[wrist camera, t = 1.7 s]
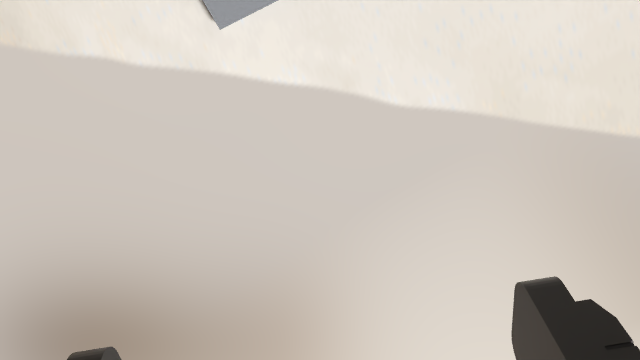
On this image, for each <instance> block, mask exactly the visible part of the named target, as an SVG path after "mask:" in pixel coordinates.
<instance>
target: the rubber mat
mask: <svg viewBox="0 0 640 360" xmlns="http://www.w3.org/2000/svg"><path fill="white" fill-rule="evenodd" d="M276 1H278V0H203V2H204V4H205V5H206V7H207V9H208V10H209V12H210V14H211V15H212V17H213V19H214V20H215V22H216V24H217V25H218V27H219V29H220V30H221V29H223V28H224V27H226V26H228V25H230V24H232V23H234V22H236V21H238V20H240V19H242V18H244V17H246V16H248V15H250V14H252V13H254V12H256V11H258V10H260V9H262V8H264V7H266V6H268V5H270V4H272V3H274V2H276Z"/></svg>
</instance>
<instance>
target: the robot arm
mask: <svg viewBox="0 0 640 360" xmlns="http://www.w3.org/2000/svg"><path fill="white" fill-rule="evenodd" d="M513 307H514V308H513V322H512V344H513V349H514V353H515V356H516V360H640V350H639V349H638V347H637V346H634V344H633V341H632V339H631V337H630V336H629V335H628V333H627V332H626V331H625V329H624V328H623V326H622V325H621V324H620V322H619V321H618V319H617V318H616V317H615V316H613V315H612V314H610V313H609V312H608V311H606V310H605V309H603V308H602V307H601V306H599V305H598V304H597V303H595V302H594V301H593V300H591V299H589V300H582V301H576V302H575V301H574V299H573V297H572V296H571V295H570V293H569V291H568V290H567V288H566V287H565V285H564V284H563V282H562V281H561V280H560V279H559V278H558V277H549V278H543V279H536V280H530V281H524V282H518V283H517V284H516V286H515V292H514V306H513ZM67 360H121V358H120V356H119V354H118V352H117V351H116V350H115V348H113V347H106V348H99V349H93V350H87V351H81V352H75V353H72V354H71V355H70V356H69V357H68V359H67Z"/></svg>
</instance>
